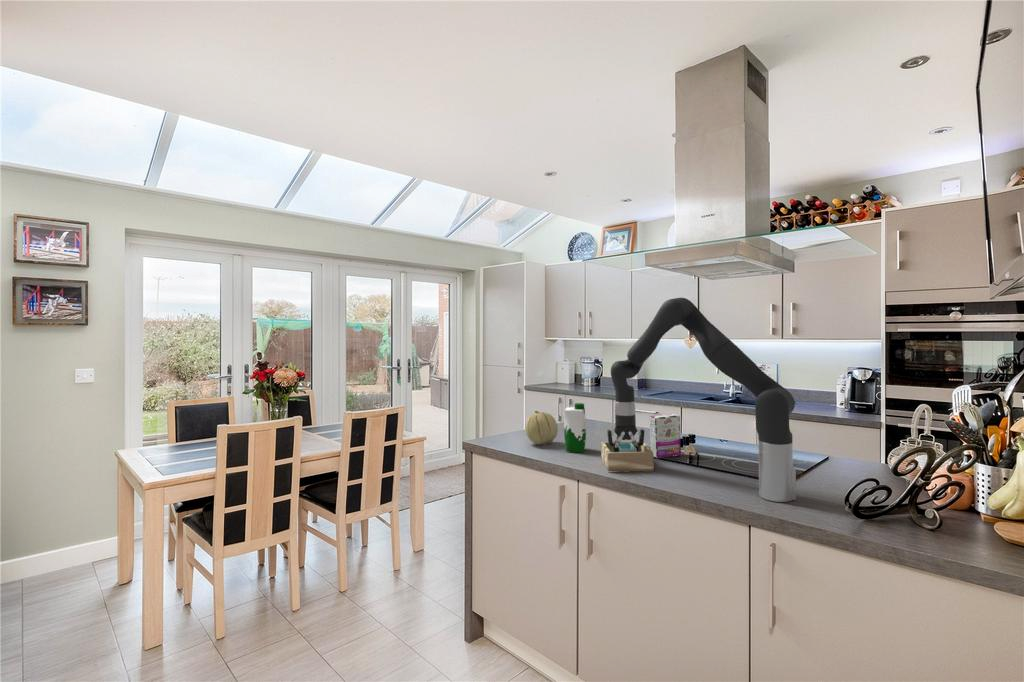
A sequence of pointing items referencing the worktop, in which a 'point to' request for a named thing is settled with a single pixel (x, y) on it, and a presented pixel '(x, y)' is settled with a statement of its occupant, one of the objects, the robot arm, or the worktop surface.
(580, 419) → the milk carton
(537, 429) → the cantaloupe
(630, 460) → the pine crate
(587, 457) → the worktop surface
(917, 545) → the worktop surface
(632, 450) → the teal crate
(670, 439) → the candy bar box
